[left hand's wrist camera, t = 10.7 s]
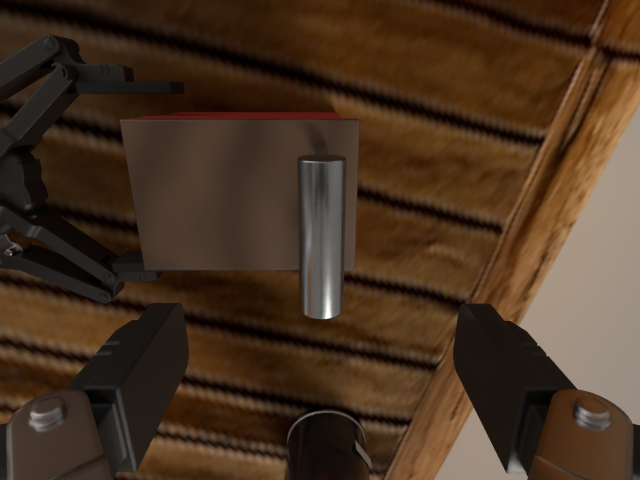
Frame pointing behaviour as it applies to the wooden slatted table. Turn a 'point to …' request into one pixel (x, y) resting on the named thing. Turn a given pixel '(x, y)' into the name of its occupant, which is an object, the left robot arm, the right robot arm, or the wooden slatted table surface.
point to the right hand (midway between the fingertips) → (189, 181)
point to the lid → (248, 198)
